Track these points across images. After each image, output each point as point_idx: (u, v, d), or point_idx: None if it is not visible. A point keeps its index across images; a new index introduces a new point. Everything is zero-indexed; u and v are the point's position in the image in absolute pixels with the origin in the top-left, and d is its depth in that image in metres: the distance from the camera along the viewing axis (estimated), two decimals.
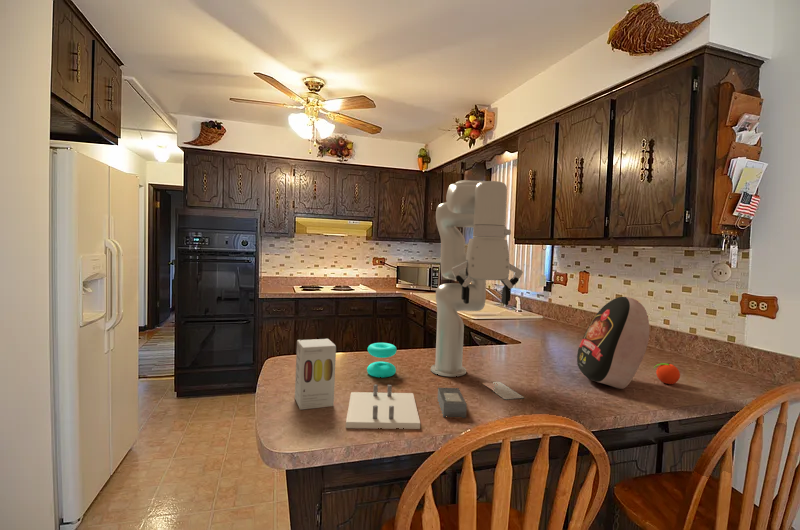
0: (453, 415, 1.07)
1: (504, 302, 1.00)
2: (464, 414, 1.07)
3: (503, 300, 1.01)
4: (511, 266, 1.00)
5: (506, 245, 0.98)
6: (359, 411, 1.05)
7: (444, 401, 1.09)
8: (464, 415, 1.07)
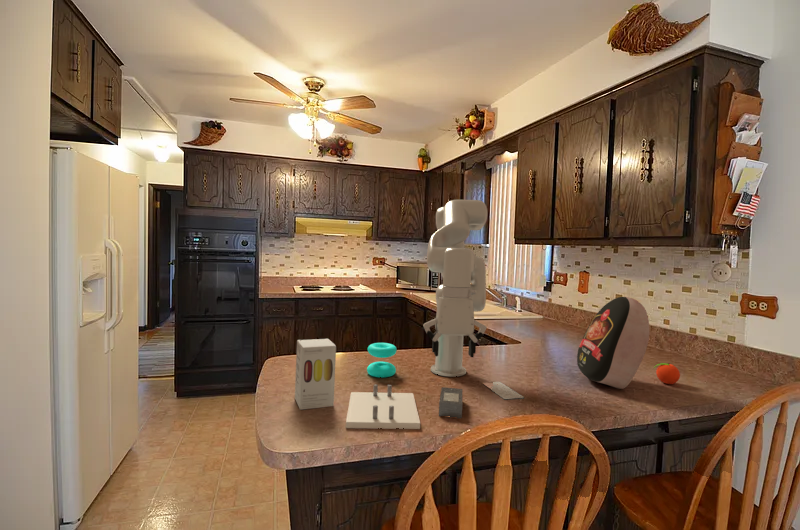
0: (449, 415, 1.08)
1: (470, 354, 1.12)
2: (460, 414, 1.07)
3: (469, 352, 1.12)
4: (476, 322, 1.12)
5: (471, 304, 1.10)
6: (359, 411, 1.05)
7: (440, 400, 1.09)
8: (460, 415, 1.07)
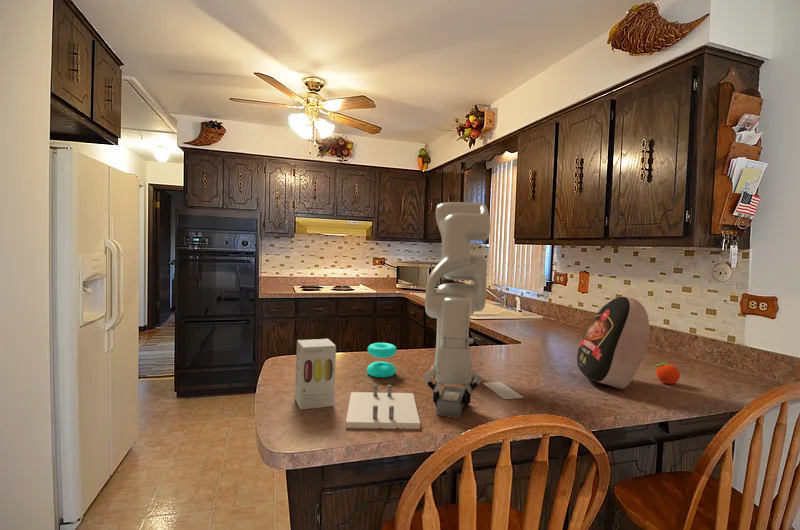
0: (446, 413, 1.08)
1: (465, 405, 1.13)
2: (457, 413, 1.07)
3: (464, 402, 1.13)
4: (473, 372, 1.12)
5: (469, 354, 1.11)
6: (359, 411, 1.05)
7: (439, 398, 1.10)
8: (457, 414, 1.07)
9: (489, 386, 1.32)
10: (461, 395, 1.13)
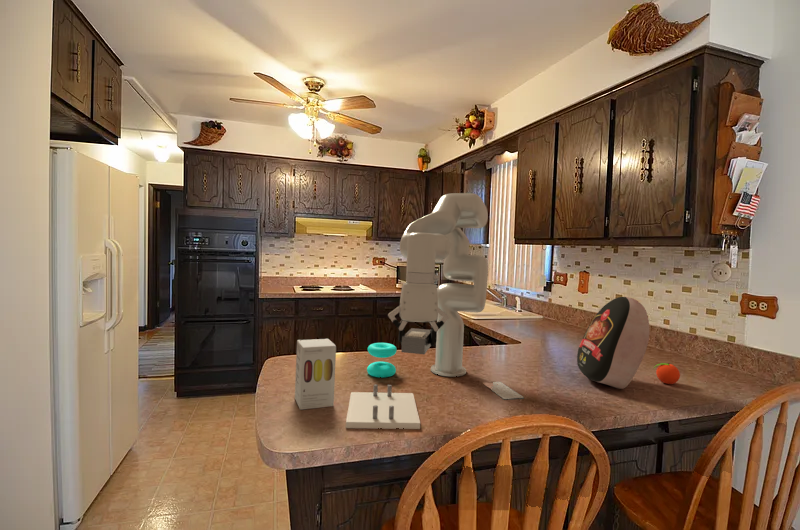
0: (411, 349, 1.05)
1: (431, 343, 1.10)
2: (422, 349, 1.04)
3: (430, 341, 1.10)
4: (439, 310, 1.10)
5: (435, 290, 1.08)
6: (359, 411, 1.05)
7: (404, 335, 1.06)
8: (422, 350, 1.04)
9: None
10: (427, 334, 1.10)
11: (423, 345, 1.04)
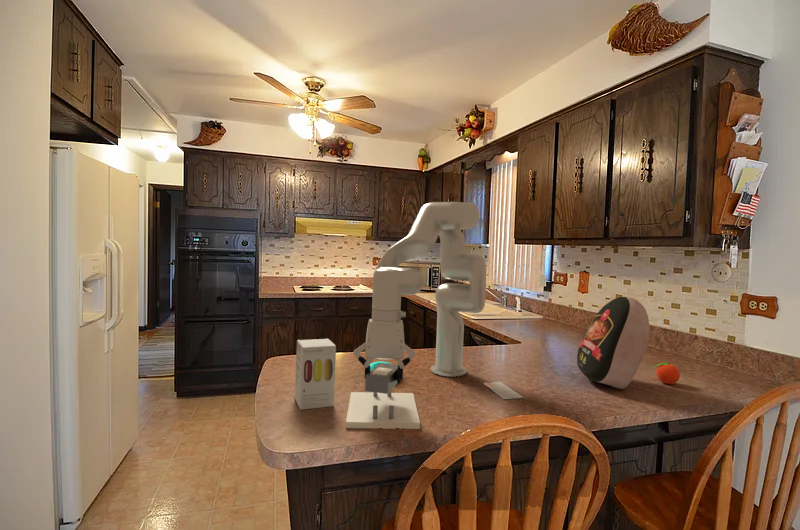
0: (375, 388, 1.03)
1: (397, 381, 1.08)
2: (386, 388, 1.03)
3: None
4: (406, 347, 1.08)
5: (400, 327, 1.06)
6: (359, 411, 1.05)
7: (368, 373, 1.05)
8: (386, 390, 1.03)
9: None
10: (393, 371, 1.08)
11: (386, 384, 1.02)
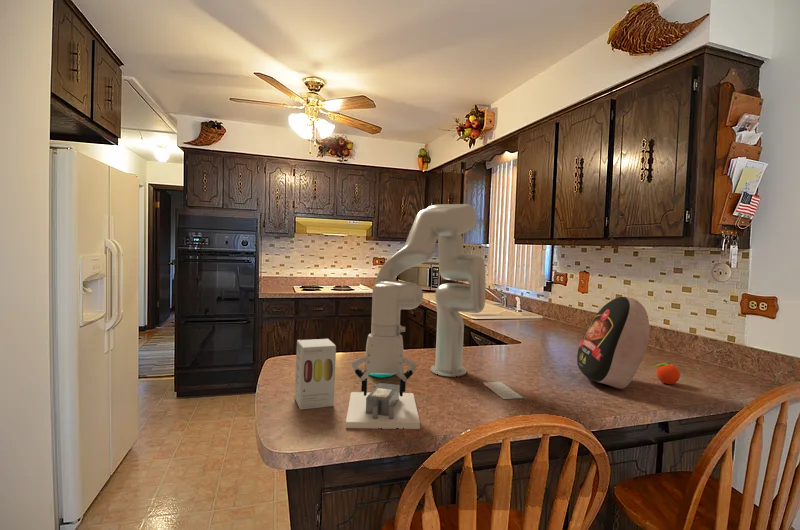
0: None
1: None
2: (387, 411, 1.03)
3: (399, 391, 1.09)
4: (406, 360, 1.08)
5: (400, 342, 1.07)
6: (359, 411, 1.05)
7: (369, 396, 1.05)
8: (387, 412, 1.03)
9: (489, 386, 1.32)
10: (393, 392, 1.09)
11: (387, 407, 1.03)
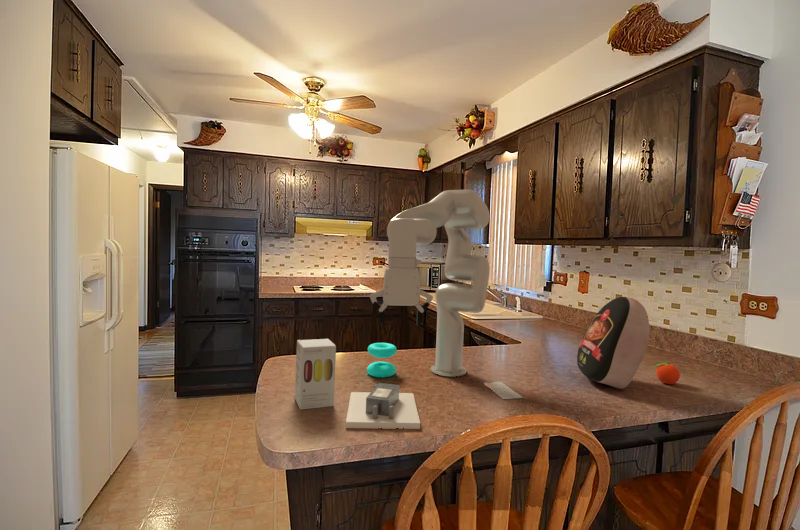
0: None
1: (417, 324, 1.12)
2: (387, 411, 1.03)
3: None
4: (422, 292, 1.12)
5: (416, 274, 1.10)
6: (359, 411, 1.05)
7: (369, 396, 1.05)
8: (387, 412, 1.03)
9: None
10: (393, 392, 1.09)
11: (387, 407, 1.03)
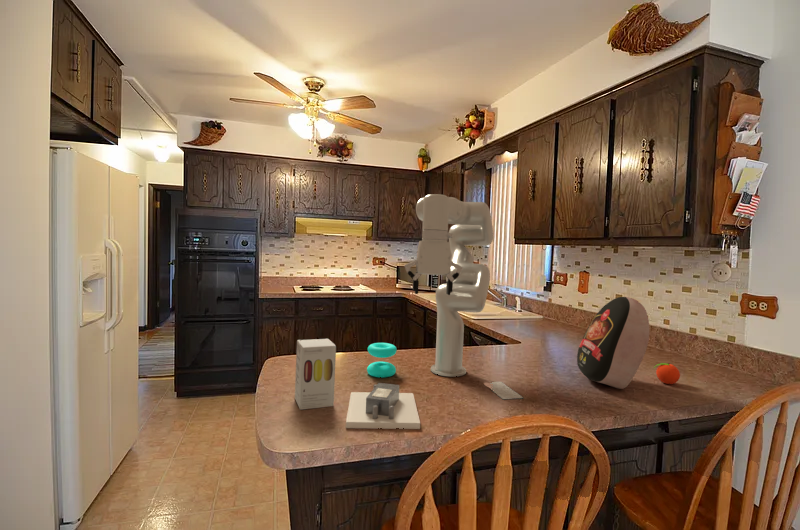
0: None
1: (447, 293, 1.22)
2: (387, 411, 1.03)
3: (447, 291, 1.23)
4: (453, 263, 1.22)
5: (448, 246, 1.20)
6: (359, 411, 1.05)
7: (369, 396, 1.05)
8: (387, 412, 1.03)
9: None
10: (393, 392, 1.09)
11: (387, 407, 1.03)
